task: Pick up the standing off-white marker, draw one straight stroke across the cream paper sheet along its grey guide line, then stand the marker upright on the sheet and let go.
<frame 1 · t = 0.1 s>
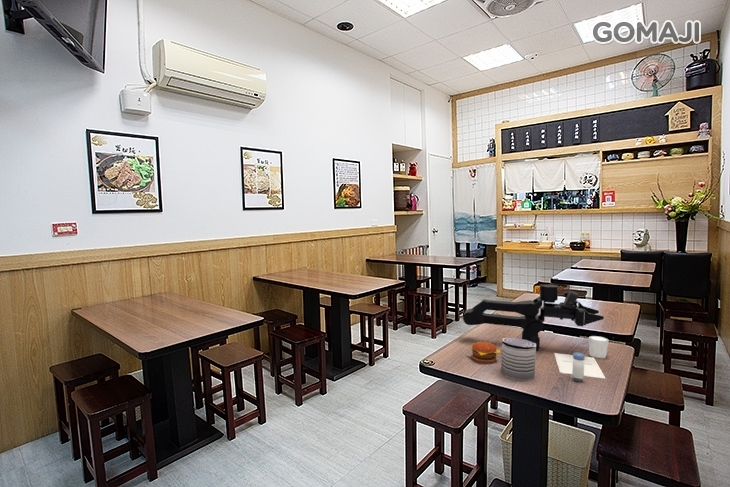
hand: (601, 314, 152), 17 cm above the table, tool horizontal, fingers open, 9 cm apart
can: (517, 374, 136), on the table
hamburger: (484, 359, 150), on the table
shot glass: (597, 356, 154), on the table
marker: (577, 379, 131), on the table
paper: (577, 365, 144), on the table
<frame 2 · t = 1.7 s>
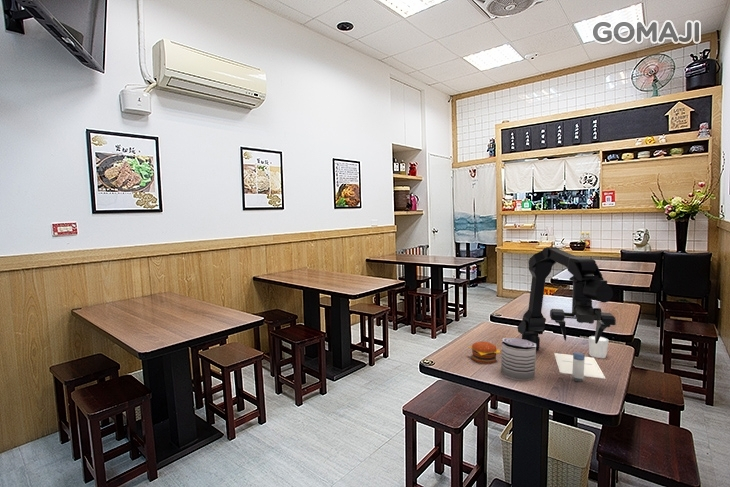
hand: (580, 341, 130), 13 cm above the table, tool pointing down, fingers open, 9 cm apart
nothing on the table moved.
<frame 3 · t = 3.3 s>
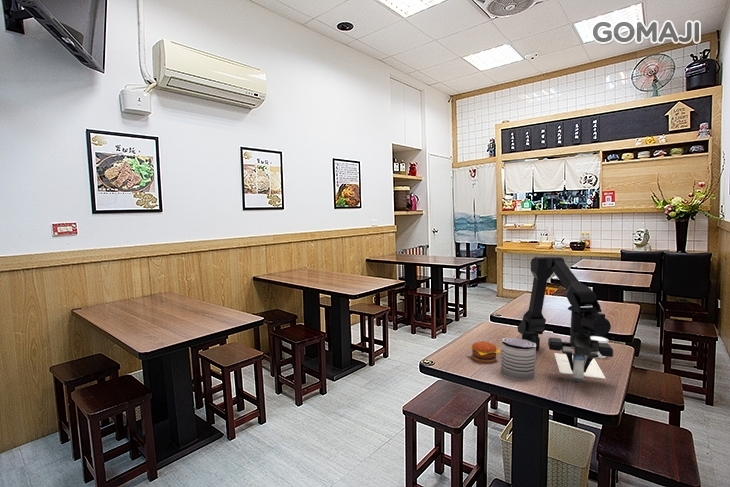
hand: (578, 371, 131), 3 cm above the table, tool pointing down, fingers closed on marker, 3 cm apart
marker: (577, 379, 131), on the table, touching gripper
everything else where it was.
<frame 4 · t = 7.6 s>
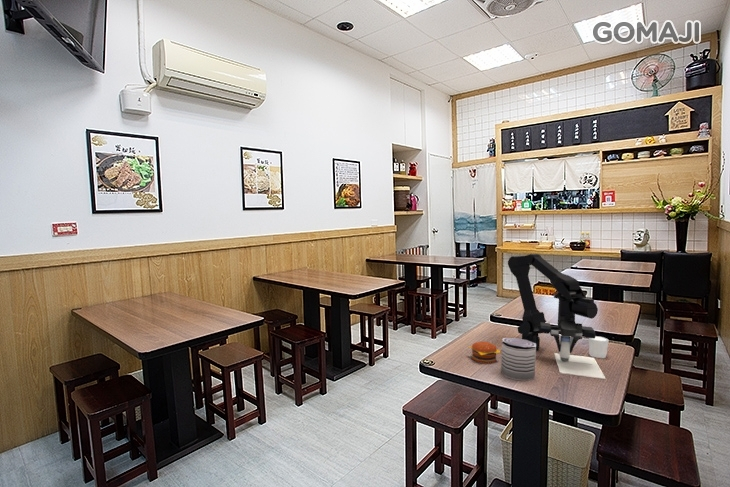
hand: (564, 352, 147), 4 cm above the table, tool pointing down, fingers closed on marker, 3 cm apart
marker: (564, 359, 147), point 1 cm above the table, touching gripper
everything else where it was.
when the fingers open (4 cm above the table, at t = 12.0 s): marker stays where it is, resting on paper.
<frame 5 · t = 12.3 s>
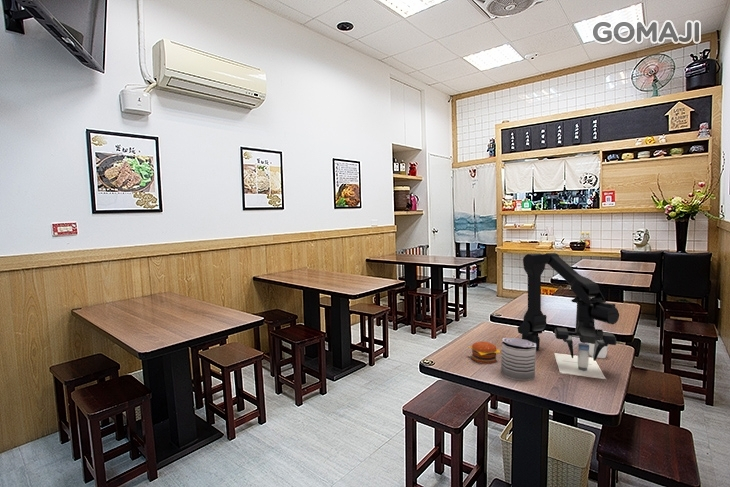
hand: (583, 359, 139), 4 cm above the table, tool pointing down, fingers open, 7 cm apart
marker: (582, 369, 140), resting on paper
everything else where it was.
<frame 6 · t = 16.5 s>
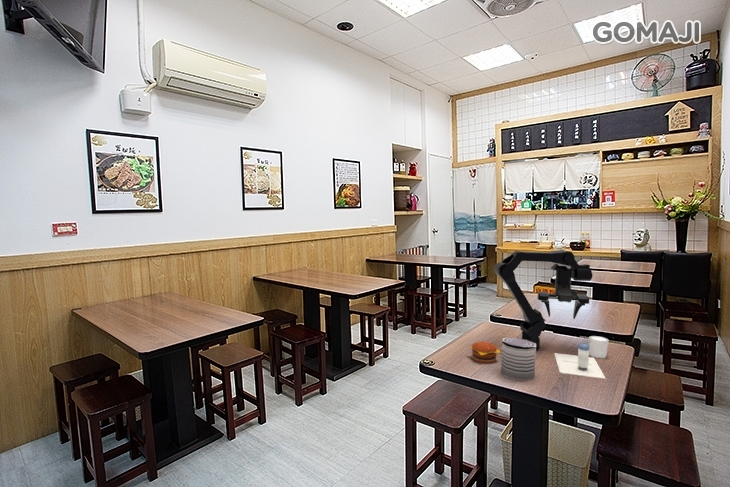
hand: (561, 317, 161), 13 cm above the table, tool pointing down, fingers open, 9 cm apart
nothing on the table moved.
at the end: marker inside the target area on the paper (1.6 cm from its centre), point 0.3 cm above the paper's base; marker tilted 0°; the gripper is holding nothing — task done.
